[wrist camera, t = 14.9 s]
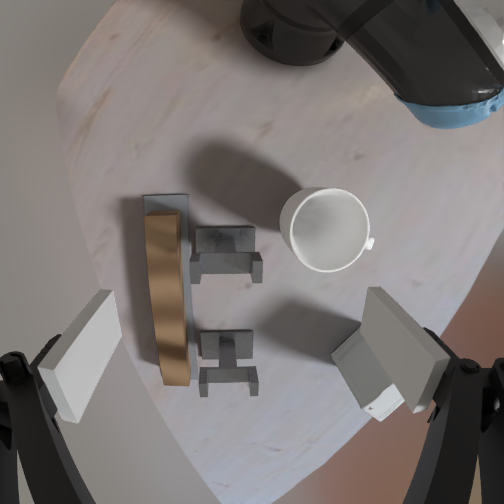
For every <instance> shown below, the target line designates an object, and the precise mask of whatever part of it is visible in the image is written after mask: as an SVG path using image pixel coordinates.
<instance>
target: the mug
mask: <svg viewBox="0 0 504 504" xmlns="http://www.w3.org/2000/svg"><path fill="white" fill-rule="evenodd" d="M279 224H280V231H281V234H282V237H283V239H284V241H285V243H286V244H287V246H288V247H289V248H290V250H291V251H292V252H293V253H294V254H295V255H296V257H297V258H298V259H299V260H300V261H301V262H302V263H303V264H304V265H306V266H307V267H309V268H310V269H313V270H315V271H319V272H335V271H339V270H341V269H344V268H346V267H347V266H349V265H351V264H352V263H353V262H354V261H355V260H356V259H357V258H358V257H359V256H360V255H361V253H362V252H363V250H364V248H365V249H367V250H370V249H371V248H372V246H373V243H374V238H373V237H371V236H369V229H370V226H369V218H368V215H367V212H366V209H365V208H364V206H363V204H362V203H361V202H360V200H359V199H358V198H357V197H355V196H354V195H353V194H351V193H349V192H347V191H345V190H342V189H338V188H325V187H312V188H306V189H303V190H301V191H298V192H297V193H295V194H294V195H292V196H291V197H290V198H289V199H288V200H287V202H286V203H285V204H284V206H283V208H282V211H281V214H280V221H279Z"/></svg>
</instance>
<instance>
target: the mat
mask: <svg viewBox="0 0 504 504" xmlns="http://www.w3.org/2000/svg"><path fill="white" fill-rule="evenodd" d="M151 211H180V218H181V248H182V268H183V285H184V300H185V313H186V325H187V336H188V347H189V357H190V366H191V375H190V379H197V380H198V369H197V359H196V348H195V336H194V324H193V310H192V295H191V284H190V269H189V261H190V258H189V230H188V195H157V196H144V215H146V214H148V213H149V212H151Z"/></svg>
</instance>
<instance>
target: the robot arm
mask: <svg viewBox="0 0 504 504" xmlns="http://www.w3.org/2000/svg"><path fill="white" fill-rule="evenodd" d="M240 22H241V27H242V30H243V33H244V35H245V37H246V38H247V40H248V41H249V42H250V44H251V45H252V46H253V47H254V48H255V49H256V50H258V51H259V52H260V53H262V54H263V55H265V56H266V57H268V58H270V59H272V60H274V61H277V62H280V63H283V64H288V65H294V66H308V65H314V64H318V63H321V62H323V61H325V60H327V59H329V58H330V57H331V56H333V55H334V54H335V53H336V52H337V51H338V50H339V49H340V48H341V47H342V45H343V43H344V42H345V41H346V42H347V43H348V44H349V45H350V46H351V47H352V48H353V49H354V50H355V51H356V52H357V53H358V54H359V55H360V56H361V57H362V58H363V59H364V60H365V61H366V62H367V63H368V64H369V65H370V66H371V67H372V68H373V69H374V70H375V71H376V73H377V74H378V75H379V76H380V77H381V78H382V79H383V80H384V81H385V83H386V84H387V85H388V86H389V87H390V88H391V90H392V91H393V92H394V95H395V96H396V98H397V99H398V100H399V101H400V102H402V103H404V104H405V105H406V106H407V108H408V109H409V110H410V111H411V112H412V114H413V115H414V116H415V117H416V118H417V119H418V120H419V121H420V122H422V123H423V124H426V125H428V126H430V127H433V128H438V129H455V128H460V127H465V126H469V125H472V124H475V123H478V122H480V121H482V120H484V119H486V118H488V117H489V116H490V112H494V111H498V110H499V109H500V108H501V107H502V105H503V104H504V0H244V2H243V5H242V9H241V16H240ZM360 333H361V335H362V336H363V338H364V339H365V341H366V342H367V344H368V345H369V347H370V348H371V350H372V351H373V353H374V354H375V356H376V357H377V359H378V360H379V362H380V363H381V365H382V366H383V368H384V369H385V371H386V372H387V374H388V375H389V377H390V378H391V380H392V382H393V383H394V385H395V386H396V388H397V389H398V391H399V392H400V394H401V396H402V397H403V399H404V400H405V402H406V404H407V405H408V407H409V408H410V410H411V411H412V413H416V412H419V411H423V410H426V409H427V408H428V406H429V404H430V402H431V400H432V399H433V400H434V401H435V403H436V406H435V408H434V410H433V412H432V414H431V416H430V418H429V419H428V421H427V423H429V422H430V421H431V422H430V426H429V429H428V433H427V436H426V440H425V443H424V446H423V450H422V453H421V456H420V459H419V462H418V465H417V468H416V471H415V473H414V476H413V479H412V481H411V484H410V487H409V489H408V492H407V494H406V497H405V499H404V501H403V504H468V503H469V499H470V494H471V489H472V485H473V479H474V474H475V468H476V462H477V455H478V458H479V467H480V479H481V495H482V504H504V358H498V359H496V360H495V362H494V364H493V366H492V368H481V366H480V365H479V364H478V363H476V362H475V361H473V360H470V359H465V358H464V359H459V358H458V357H457V356H456V354H455V353H454V352H453V351H452V350H451V349H450V348H449V347H448V346H447V345H446V344H444V342H443V341H442V340H440V338H439V337H438V336H437V335H436V334H435V333H434V332H432V331H431V330H429V329H427V328H425V327H424V328H422V327H421V326H420V325H419V324H418V323H417V322H416V321H415V320H414V319H413V318H412V317H411V316H410V315H409V314H408V313H407V312H406V311H405V310H404V309H403V308H402V307H401V306H400V305H399V304H398V303H397V302H396V301H395V300H394V299H393V298H392V297H391V296H390V295H389V294H388V293H387V292H386V291H385V290H384V289H382V288H381V287H368V290H367V296H366V301H365V307H364V312H363V317H362V322H361V327H360ZM121 337H122V333H121V328H120V324H119V319H118V314H117V309H116V303H115V298H114V292H113V290H99V291H98V293H97V294H96V295H95V296H94V297H93V298H92V299H91V301H90V302H89V303H88V304H87V305H86V306H85V308H84V309H83V310H82V311H81V313H80V314H79V315H78V316H77V317H76V318H75V320H74V321H73V322H72V323H71V325H70V326H69V327H68V328H67V330H66V331H65V332H64V333H63V334H62V335H61V334H58V335H56V336H55V337H53V338H52V339H50V340H49V341H48V343H47V344H46V345H45V348H43V349H42V350H41V352H40V353H39V354H38V355H37V356H36V358H35V359H34V360H33V362H32V363H31V364H30V365H29V364H28V362H27V359H26V357H25V356H24V354H23V353H21V352H17V351H15V352H9V353H7V354H4V355H3V356H2V357H0V374H1V376H2V378H3V380H2V381H0V504H20V503H19V492H18V475H17V450H18V454H19V458H20V461H21V465H22V468H23V471H24V475H25V478H26V481H27V484H28V487H29V490H30V492H31V495H32V498H33V501H34V503H35V504H96V503H95V501H94V500H93V498H92V496H91V494H90V492H89V491H88V489H87V487H86V485H85V483H84V481H83V479H82V478H81V476H80V473H79V471H78V469H77V467H76V465H75V463H74V461H73V459H72V457H71V455H70V452H69V450H68V448H67V446H66V443H65V441H64V438H63V436H62V434H61V431H60V429H59V426H58V423H57V421H56V419H55V418H54V415H55V414H56V412H57V410H58V412H59V414H60V416H61V418H62V419H63V420H65V421H69V422H74V423H79V421H80V419H81V417H82V414H83V412H84V410H85V408H86V406H87V404H88V402H89V400H90V398H91V396H92V393H93V391H94V389H95V387H96V385H97V383H98V381H99V379H100V377H101V375H102V373H103V371H104V369H105V367H106V365H107V363H108V361H109V359H110V357H111V356H112V353H113V352H114V350H115V348H116V346H117V344H118V342H119V340H120V339H121ZM498 406H500V407H499V408H498Z"/></svg>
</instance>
